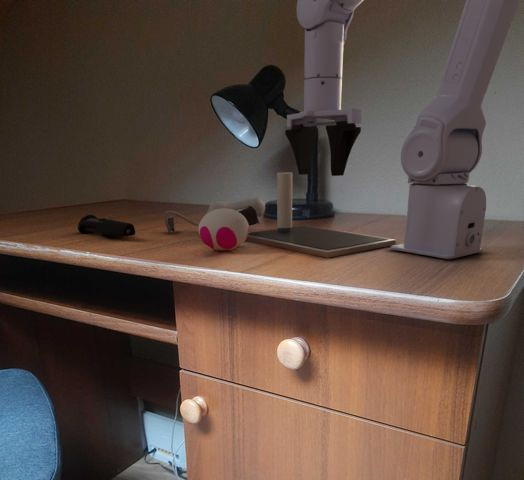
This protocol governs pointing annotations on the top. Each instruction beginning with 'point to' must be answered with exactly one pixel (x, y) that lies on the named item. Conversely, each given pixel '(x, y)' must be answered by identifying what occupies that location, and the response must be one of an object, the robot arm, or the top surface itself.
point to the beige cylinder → (284, 201)
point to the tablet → (319, 241)
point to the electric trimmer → (105, 227)
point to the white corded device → (246, 207)
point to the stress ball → (223, 229)
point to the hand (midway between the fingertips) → (320, 175)
